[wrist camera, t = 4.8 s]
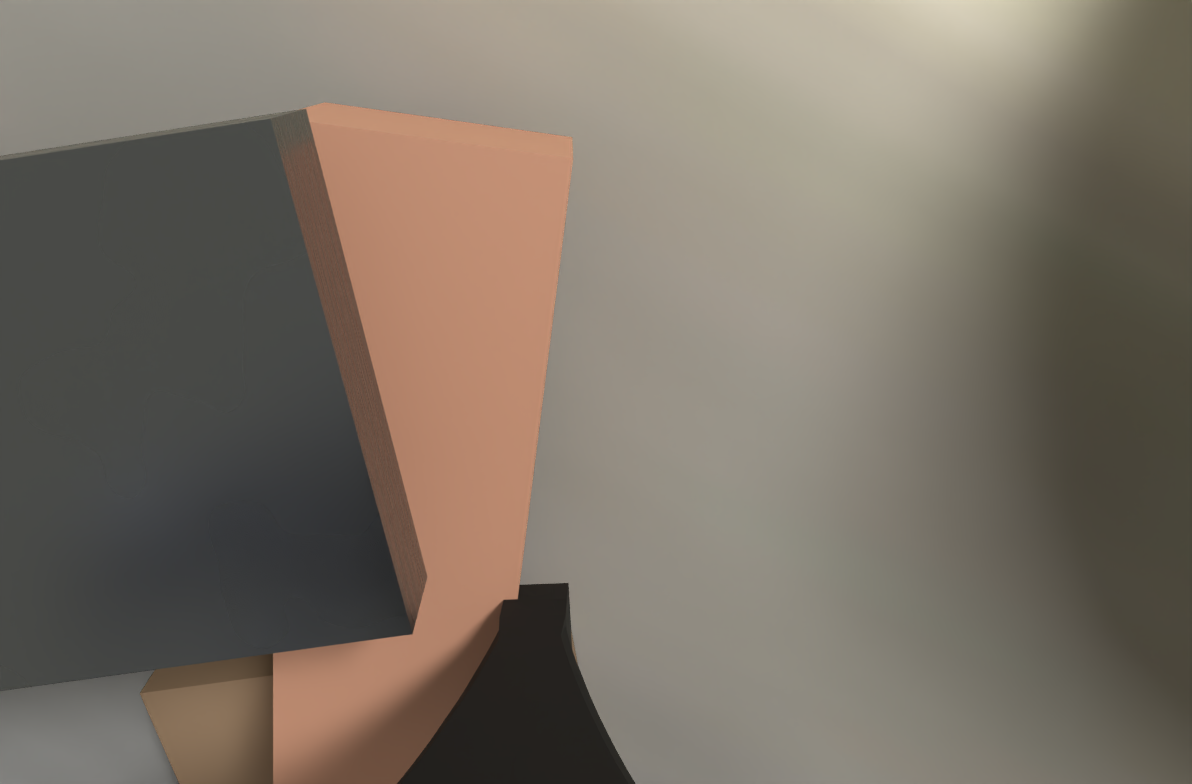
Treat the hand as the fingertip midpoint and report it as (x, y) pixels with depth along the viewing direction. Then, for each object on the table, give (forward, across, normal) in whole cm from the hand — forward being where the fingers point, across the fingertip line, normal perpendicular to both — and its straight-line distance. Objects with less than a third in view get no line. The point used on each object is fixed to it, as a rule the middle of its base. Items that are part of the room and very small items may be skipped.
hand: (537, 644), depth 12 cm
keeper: (+2, +6, -4) cm, 8 cm away
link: (+1, +2, 0) cm, 2 cm away
